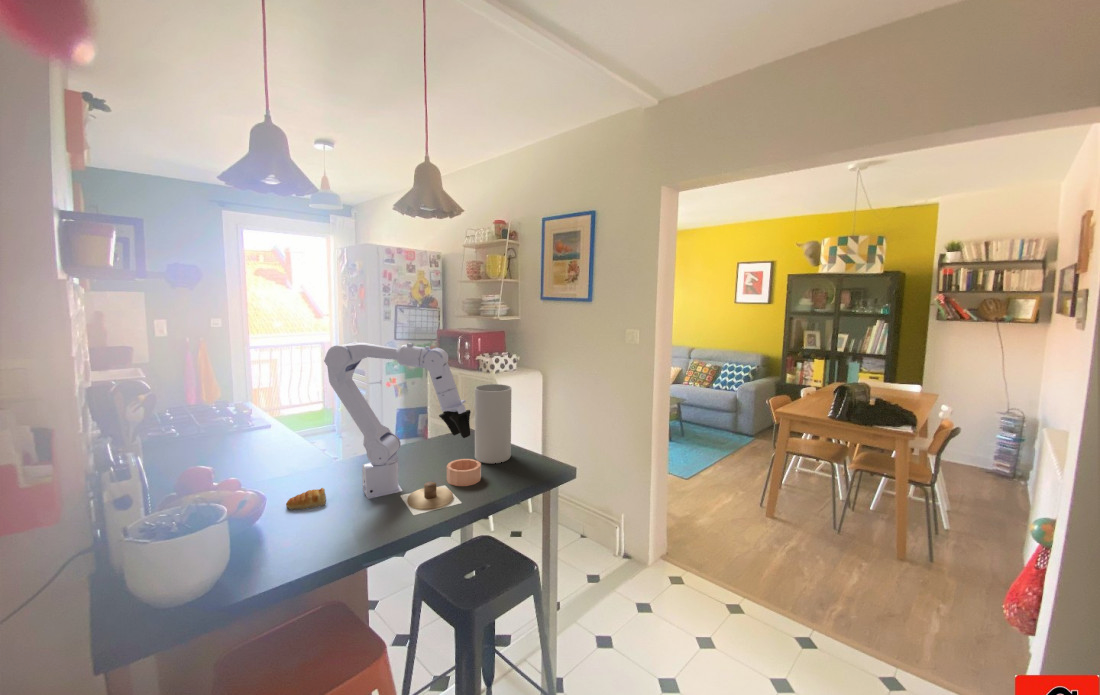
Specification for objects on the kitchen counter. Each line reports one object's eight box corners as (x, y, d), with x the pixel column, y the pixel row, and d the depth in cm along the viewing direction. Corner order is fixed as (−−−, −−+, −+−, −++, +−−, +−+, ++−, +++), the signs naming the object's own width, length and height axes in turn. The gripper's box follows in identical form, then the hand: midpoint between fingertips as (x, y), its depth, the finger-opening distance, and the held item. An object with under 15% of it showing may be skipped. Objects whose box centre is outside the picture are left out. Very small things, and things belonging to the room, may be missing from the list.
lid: (414, 514, 111) (414, 498, 111) (402, 495, 121) (401, 480, 121) (459, 502, 118) (459, 487, 117) (444, 486, 128) (443, 472, 127)
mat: (413, 517, 111) (413, 515, 110) (400, 497, 121) (400, 495, 121) (461, 505, 118) (462, 502, 118) (445, 487, 128) (445, 485, 128)
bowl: (454, 490, 126) (454, 474, 126) (442, 478, 135) (442, 462, 134) (486, 483, 132) (486, 467, 131) (472, 471, 140) (472, 456, 140)
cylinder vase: (517, 459, 152) (518, 388, 149) (486, 467, 144) (486, 393, 141) (498, 449, 162) (499, 382, 159) (468, 456, 154) (468, 386, 151)
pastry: (286, 514, 111) (285, 500, 111) (286, 504, 117) (285, 490, 116) (327, 506, 116) (327, 492, 115) (325, 496, 122) (325, 483, 121)
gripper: (468, 385, 118) (484, 431, 119) (450, 385, 130) (465, 427, 131) (444, 394, 114) (461, 442, 115) (428, 393, 126) (443, 437, 128)
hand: (461, 435), depth 123 cm, fingers open, 7 cm apart
